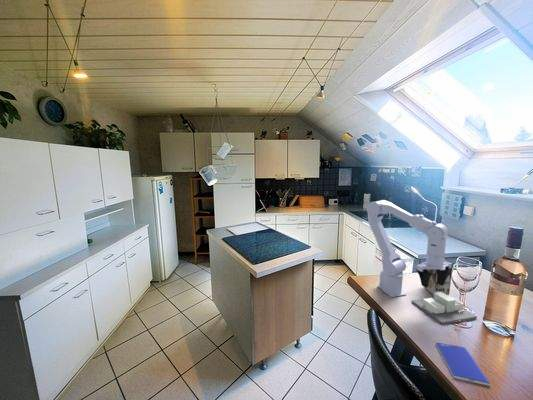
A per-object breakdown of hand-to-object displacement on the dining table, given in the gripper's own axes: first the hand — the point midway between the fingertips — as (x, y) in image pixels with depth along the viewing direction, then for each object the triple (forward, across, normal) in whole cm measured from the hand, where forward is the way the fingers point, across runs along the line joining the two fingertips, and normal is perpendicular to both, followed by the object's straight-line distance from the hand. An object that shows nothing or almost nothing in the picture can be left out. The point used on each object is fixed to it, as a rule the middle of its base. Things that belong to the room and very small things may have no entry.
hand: (432, 285), depth 91 cm
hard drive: (+11, -14, -24) cm, 30 cm away
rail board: (+10, +4, -2) cm, 11 cm away
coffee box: (+11, +14, +10) cm, 20 cm away
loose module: (+9, +4, -2) cm, 10 cm away
